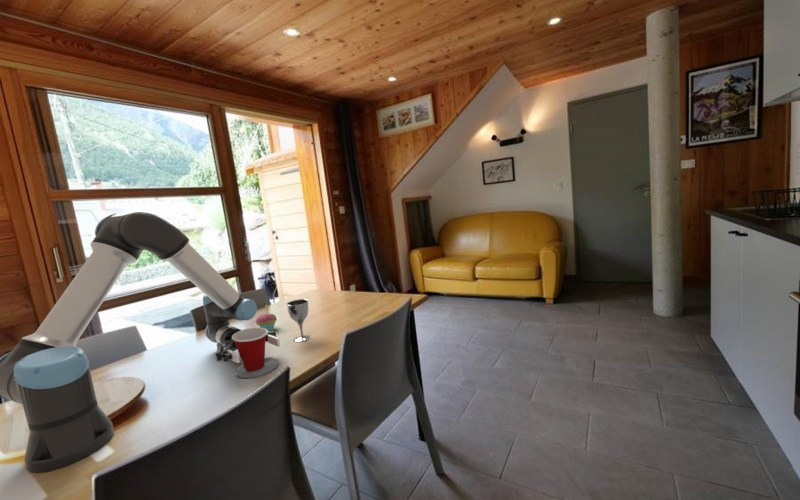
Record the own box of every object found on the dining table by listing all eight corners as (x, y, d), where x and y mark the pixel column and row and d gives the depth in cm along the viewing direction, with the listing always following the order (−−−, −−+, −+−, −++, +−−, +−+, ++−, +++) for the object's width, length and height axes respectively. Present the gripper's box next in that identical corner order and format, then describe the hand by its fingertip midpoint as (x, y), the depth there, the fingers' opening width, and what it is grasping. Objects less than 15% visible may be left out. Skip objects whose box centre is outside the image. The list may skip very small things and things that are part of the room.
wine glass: (316, 337, 137) (311, 300, 135) (299, 344, 132) (293, 306, 129) (305, 333, 143) (300, 298, 141) (288, 340, 137) (282, 303, 135)
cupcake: (282, 327, 153) (278, 301, 151) (265, 334, 146) (261, 307, 144) (269, 325, 157) (265, 299, 156) (253, 332, 150) (248, 305, 149)
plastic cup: (260, 376, 107) (254, 339, 105) (230, 375, 109) (223, 339, 108) (279, 359, 118) (274, 326, 116) (251, 359, 120) (245, 326, 118)
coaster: (247, 383, 105) (247, 380, 105) (229, 372, 114) (229, 369, 114) (285, 365, 115) (285, 363, 115) (266, 356, 123) (266, 354, 123)
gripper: (265, 335, 135) (294, 346, 121) (195, 361, 116) (220, 378, 102) (262, 317, 134) (291, 326, 120) (191, 340, 115) (216, 354, 101)
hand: (259, 350), depth 111 cm, fingers open, 13 cm apart
